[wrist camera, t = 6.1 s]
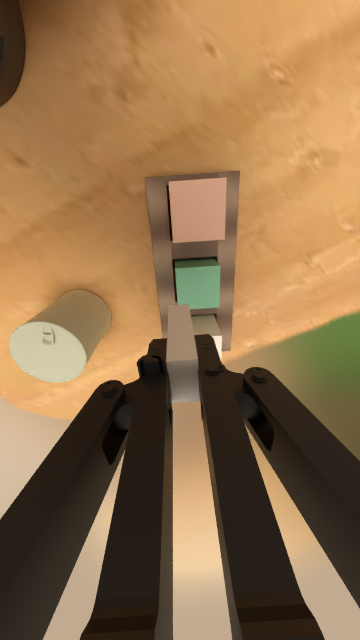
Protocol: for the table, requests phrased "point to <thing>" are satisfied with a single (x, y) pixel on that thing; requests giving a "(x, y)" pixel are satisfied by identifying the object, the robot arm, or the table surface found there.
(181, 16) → the table surface
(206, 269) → the green block
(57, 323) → the can
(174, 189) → the terracotta block
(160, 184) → the walnut board
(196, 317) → the cream block
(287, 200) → the table surface
